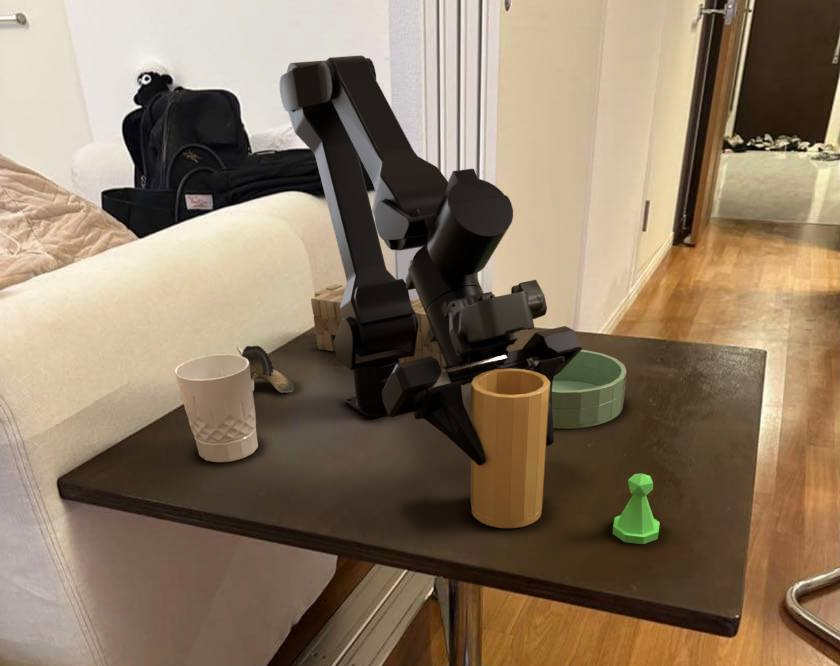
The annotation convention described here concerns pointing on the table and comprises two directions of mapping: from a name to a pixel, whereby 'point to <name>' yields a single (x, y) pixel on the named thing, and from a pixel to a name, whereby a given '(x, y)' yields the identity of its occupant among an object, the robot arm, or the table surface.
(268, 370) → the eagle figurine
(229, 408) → the white cup
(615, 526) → the game piece
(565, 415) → the pan
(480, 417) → the tumbler
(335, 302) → the block tower
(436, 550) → the table surface
